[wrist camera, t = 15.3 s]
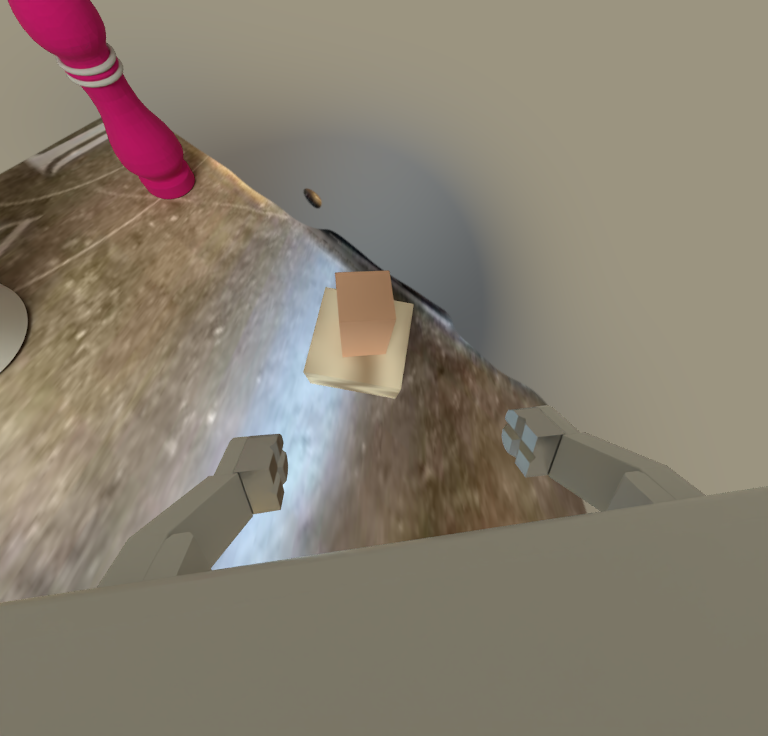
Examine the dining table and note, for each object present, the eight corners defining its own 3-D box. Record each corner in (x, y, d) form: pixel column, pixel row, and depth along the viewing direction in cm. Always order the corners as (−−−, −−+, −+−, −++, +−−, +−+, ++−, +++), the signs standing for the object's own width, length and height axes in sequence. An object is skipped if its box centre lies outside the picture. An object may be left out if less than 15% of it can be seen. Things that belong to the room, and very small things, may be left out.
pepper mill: (168, 211, 39) (-13, -24, 20) (131, 182, 40) (-77, -70, 21) (210, 181, 41) (82, -59, 22) (174, 154, 42) (21, -99, 23)
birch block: (310, 383, 34) (303, 371, 29) (329, 309, 37) (325, 287, 32) (394, 399, 34) (400, 389, 30) (406, 323, 38) (413, 304, 33)
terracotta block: (342, 357, 30) (339, 322, 22) (339, 318, 31) (335, 272, 24) (385, 354, 31) (396, 318, 23) (380, 315, 32) (389, 270, 24)
